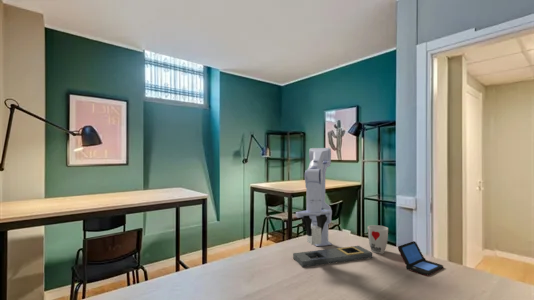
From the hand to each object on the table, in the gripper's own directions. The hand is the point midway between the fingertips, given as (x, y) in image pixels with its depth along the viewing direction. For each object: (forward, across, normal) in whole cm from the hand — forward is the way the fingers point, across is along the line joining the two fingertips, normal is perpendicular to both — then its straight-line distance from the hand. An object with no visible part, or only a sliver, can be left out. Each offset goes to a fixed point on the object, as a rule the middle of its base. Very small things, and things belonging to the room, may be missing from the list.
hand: (314, 234), depth 109 cm
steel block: (+3, 0, 0) cm, 3 cm away
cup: (+10, +30, +1) cm, 32 cm away
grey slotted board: (+10, +8, 0) cm, 13 cm away
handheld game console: (+10, +34, -17) cm, 39 cm away
